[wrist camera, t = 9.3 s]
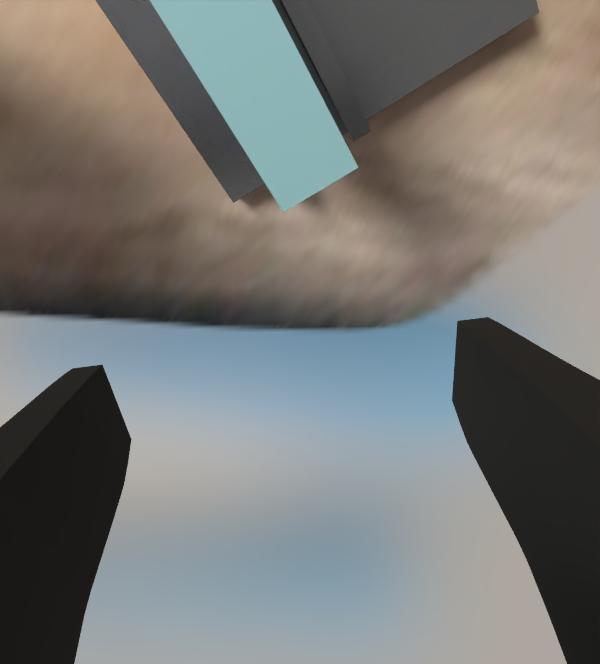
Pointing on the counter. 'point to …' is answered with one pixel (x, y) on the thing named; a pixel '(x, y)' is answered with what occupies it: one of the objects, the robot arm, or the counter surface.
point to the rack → (321, 61)
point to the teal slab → (261, 92)
